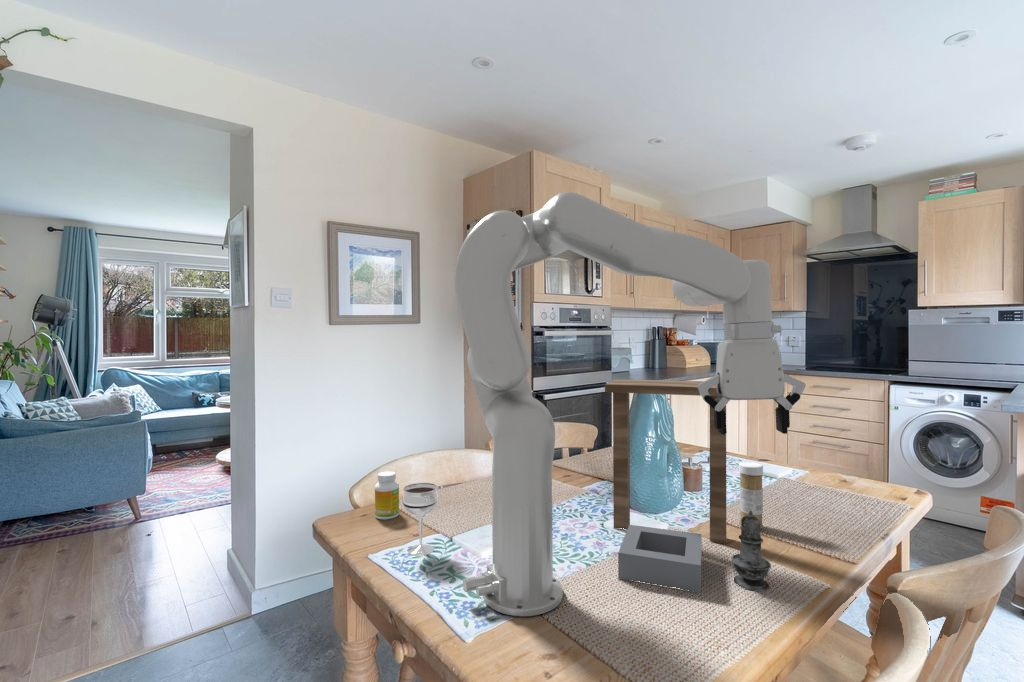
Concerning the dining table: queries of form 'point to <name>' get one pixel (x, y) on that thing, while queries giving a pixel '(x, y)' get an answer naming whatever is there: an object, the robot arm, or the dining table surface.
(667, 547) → the socket block
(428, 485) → the wineglass
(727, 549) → the dining table surface
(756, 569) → the salt shaker
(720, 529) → the canopy
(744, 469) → the sprinkles bottle
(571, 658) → the dining table surface
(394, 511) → the supplement bottle
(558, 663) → the dining table surface
